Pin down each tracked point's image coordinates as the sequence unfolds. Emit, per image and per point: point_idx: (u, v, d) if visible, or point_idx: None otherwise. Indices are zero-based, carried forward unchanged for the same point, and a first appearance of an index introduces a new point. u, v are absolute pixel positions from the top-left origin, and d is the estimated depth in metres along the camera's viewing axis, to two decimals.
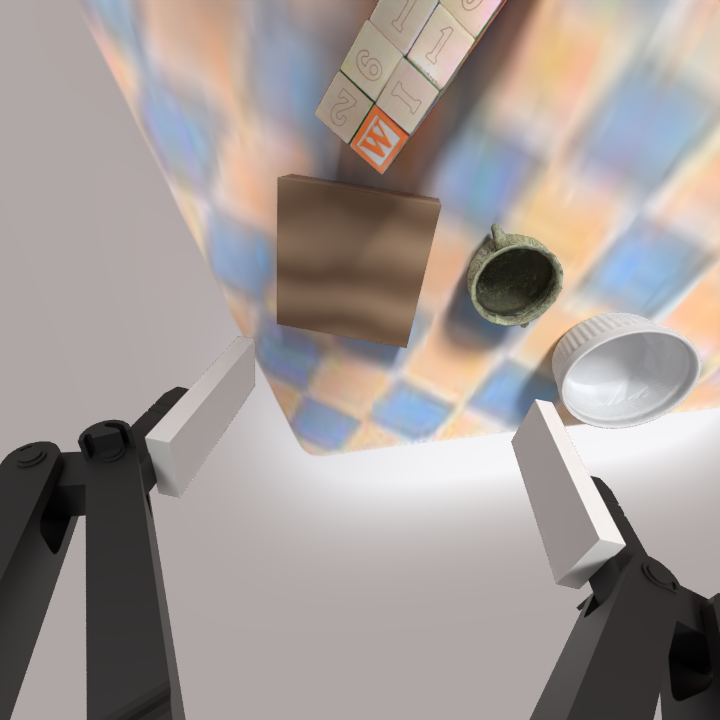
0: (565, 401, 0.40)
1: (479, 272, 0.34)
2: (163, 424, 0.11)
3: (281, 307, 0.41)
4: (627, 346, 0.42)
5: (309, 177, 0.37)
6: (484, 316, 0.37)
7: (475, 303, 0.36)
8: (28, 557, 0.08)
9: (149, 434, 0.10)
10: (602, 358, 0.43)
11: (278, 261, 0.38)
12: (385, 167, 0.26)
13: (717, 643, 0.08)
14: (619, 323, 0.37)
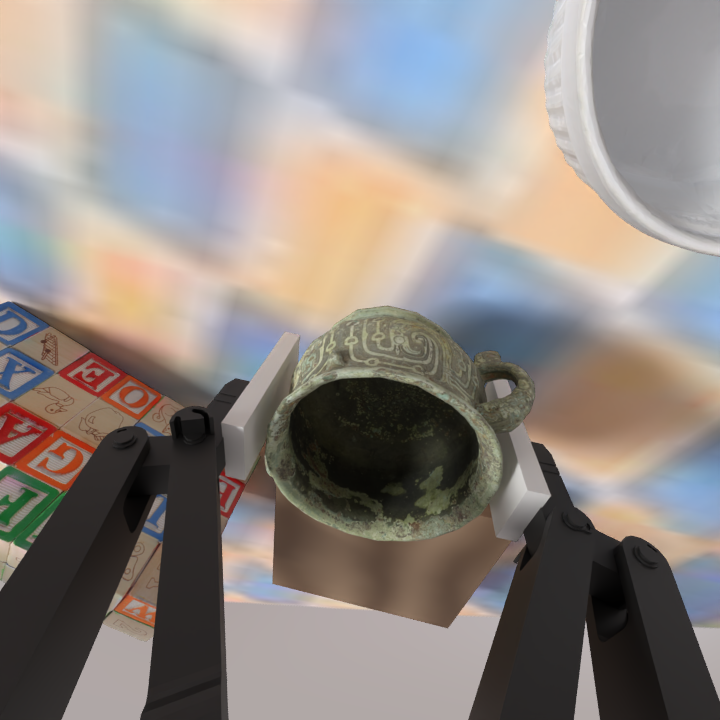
0: None
1: (341, 526, 0.15)
2: (234, 411, 0.12)
3: (423, 619, 0.30)
4: None
5: None
6: (460, 523, 0.13)
7: (420, 535, 0.14)
8: (110, 533, 0.09)
9: (224, 420, 0.11)
10: None
11: (362, 605, 0.31)
12: None
13: (629, 583, 0.09)
14: None
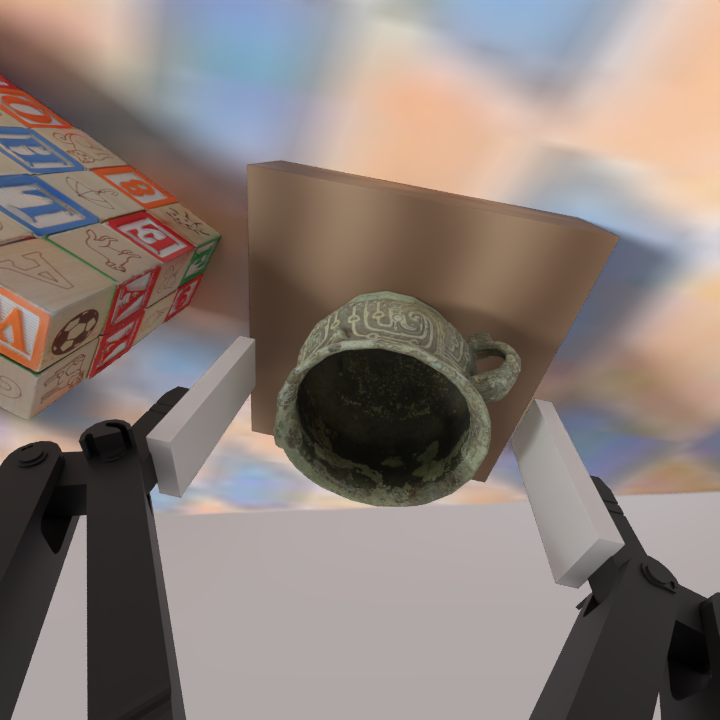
0: None
1: (344, 493, 0.16)
2: (164, 424, 0.11)
3: None
4: None
5: None
6: (453, 487, 0.15)
7: (416, 500, 0.15)
8: (29, 557, 0.08)
9: (150, 434, 0.11)
10: None
11: None
12: (34, 307, 0.11)
13: (716, 642, 0.08)
14: None
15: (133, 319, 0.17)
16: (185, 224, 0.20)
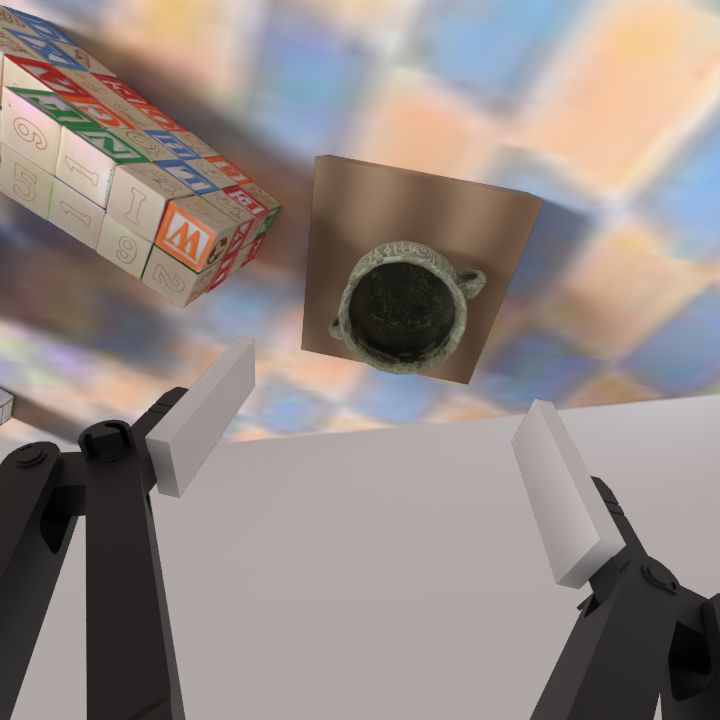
0: None
1: (376, 365, 0.25)
2: (163, 424, 0.11)
3: (445, 374, 0.32)
4: None
5: None
6: (444, 357, 0.24)
7: (421, 368, 0.25)
8: (28, 557, 0.08)
9: (149, 434, 0.10)
10: None
11: None
12: (208, 229, 0.20)
13: (717, 643, 0.08)
14: None
15: (233, 255, 0.26)
16: (260, 196, 0.29)
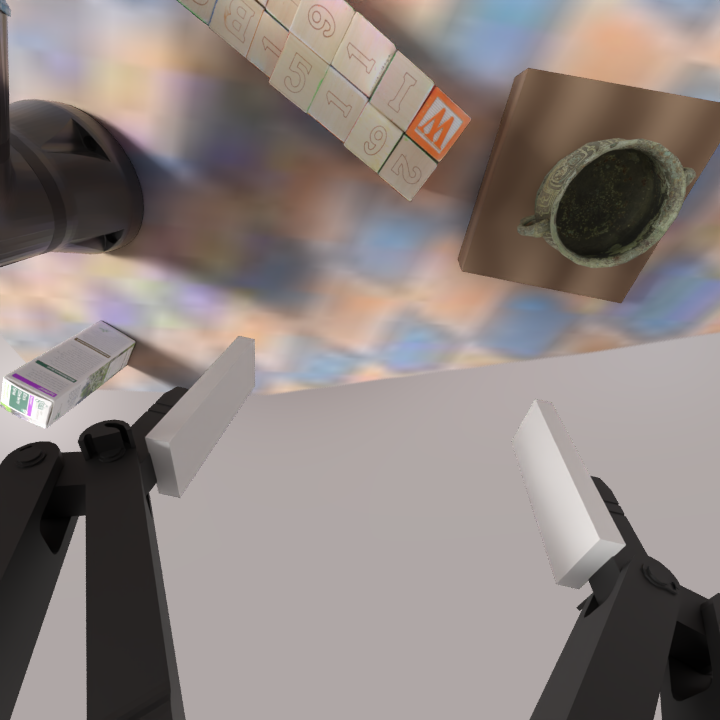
0: None
1: (574, 259, 0.27)
2: (163, 424, 0.11)
3: (600, 293, 0.34)
4: None
5: None
6: (646, 247, 0.26)
7: (620, 261, 0.27)
8: (28, 557, 0.08)
9: (149, 434, 0.10)
10: None
11: (544, 286, 0.35)
12: (464, 114, 0.22)
13: (717, 643, 0.08)
14: None
15: None
16: None
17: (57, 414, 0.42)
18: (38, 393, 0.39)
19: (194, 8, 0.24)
